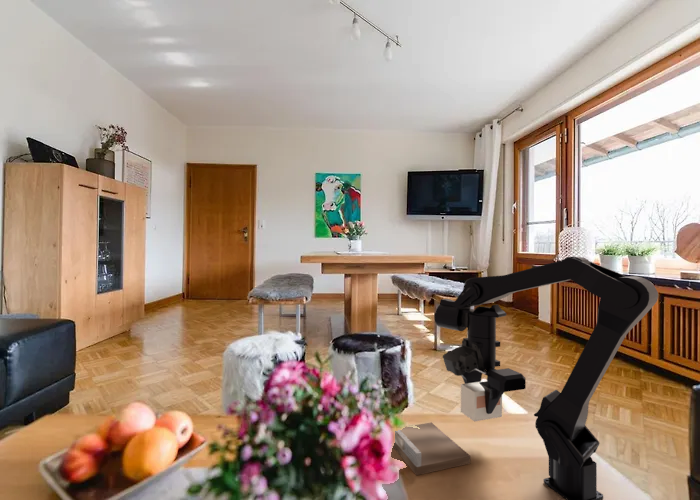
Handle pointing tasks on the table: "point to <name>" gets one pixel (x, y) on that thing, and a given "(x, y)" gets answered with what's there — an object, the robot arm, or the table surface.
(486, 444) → the table surface
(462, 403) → the carton
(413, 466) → the shelf board
